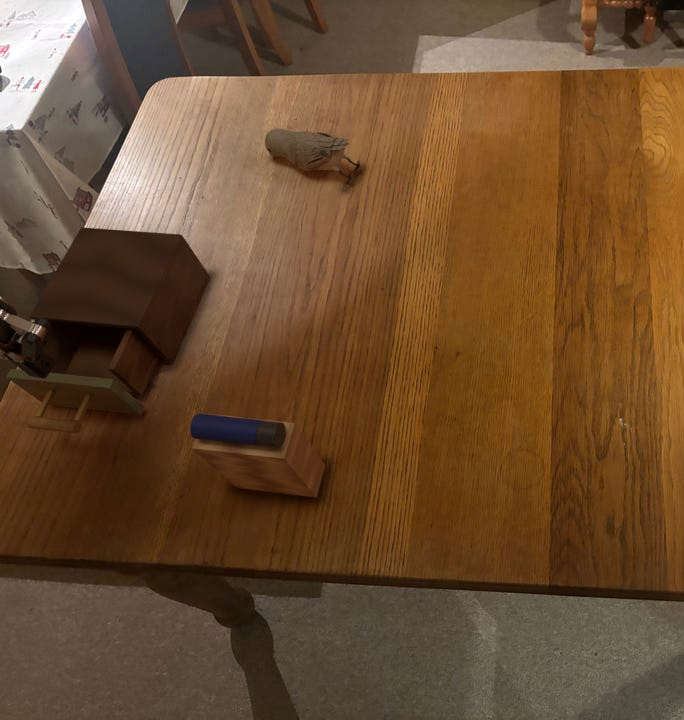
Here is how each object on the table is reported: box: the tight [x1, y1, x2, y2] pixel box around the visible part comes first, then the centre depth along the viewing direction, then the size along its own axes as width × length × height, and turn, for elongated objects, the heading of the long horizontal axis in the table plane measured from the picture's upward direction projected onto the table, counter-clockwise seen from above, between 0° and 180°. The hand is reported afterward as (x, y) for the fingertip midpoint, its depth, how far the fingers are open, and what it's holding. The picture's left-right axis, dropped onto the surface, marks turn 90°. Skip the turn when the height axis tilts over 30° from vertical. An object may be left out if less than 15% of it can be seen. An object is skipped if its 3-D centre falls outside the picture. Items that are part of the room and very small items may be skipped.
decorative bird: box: [264, 128, 361, 187], centre depth 101 cm, size 5×16×8 cm, turn 67°
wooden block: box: [191, 413, 326, 498], centre depth 73 cm, size 10×4×12 cm, turn 82°
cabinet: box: [28, 227, 211, 365], centre depth 88 cm, size 15×15×9 cm
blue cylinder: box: [189, 413, 286, 448], centre depth 67 cm, size 9×3×3 cm, turn 82°
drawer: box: [6, 321, 160, 434], centre depth 83 cm, size 18×13×7 cm
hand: (44, 369), depth 68 cm, fingers closed
